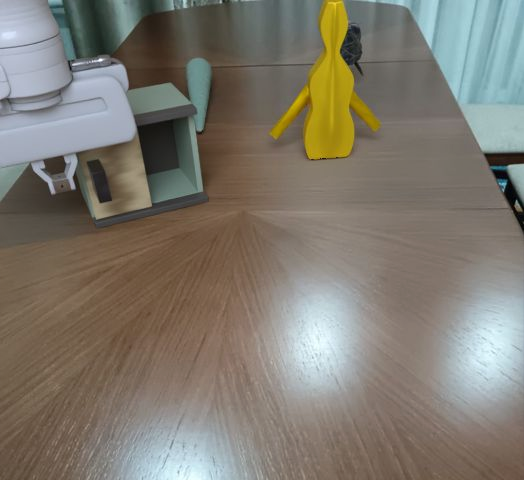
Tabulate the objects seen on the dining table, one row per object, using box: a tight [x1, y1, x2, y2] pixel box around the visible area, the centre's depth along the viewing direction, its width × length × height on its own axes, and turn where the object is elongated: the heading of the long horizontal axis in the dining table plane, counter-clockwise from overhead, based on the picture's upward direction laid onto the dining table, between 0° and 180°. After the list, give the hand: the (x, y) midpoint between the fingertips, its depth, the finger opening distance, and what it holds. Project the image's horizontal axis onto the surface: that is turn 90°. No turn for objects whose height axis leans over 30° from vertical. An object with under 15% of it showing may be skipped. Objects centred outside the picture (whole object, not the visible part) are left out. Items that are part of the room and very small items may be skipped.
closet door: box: [77, 131, 152, 220], centre depth 73 cm, size 8×5×11 cm, turn 113°
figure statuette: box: [268, 0, 382, 160], centre depth 84 cm, size 18×8×22 cm, turn 95°
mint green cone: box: [185, 57, 213, 132], centre depth 108 cm, size 5×6×27 cm
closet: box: [75, 82, 209, 229], centre depth 79 cm, size 16×12×13 cm
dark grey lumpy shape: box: [340, 20, 365, 77], centre depth 108 cm, size 8×11×20 cm
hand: (63, 190), depth 69 cm, fingers closed
